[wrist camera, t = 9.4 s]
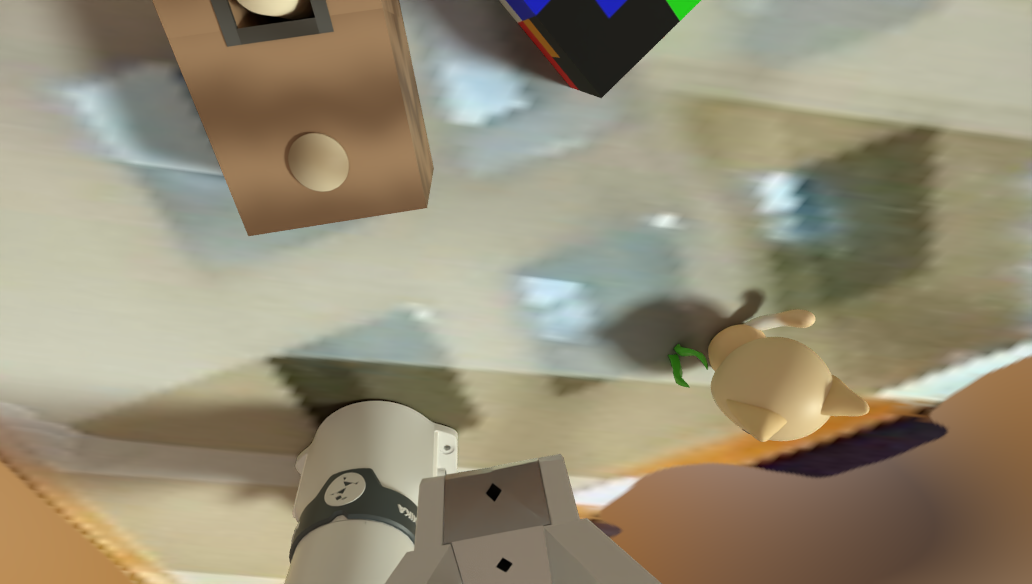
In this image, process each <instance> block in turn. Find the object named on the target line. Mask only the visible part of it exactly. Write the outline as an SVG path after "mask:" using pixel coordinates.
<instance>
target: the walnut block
mask: <svg viewBox="0 0 1032 584" xmlns="http://www.w3.org/2000/svg"><path fill="white" fill-rule="evenodd" d="M152 1H153V4H154V6H155V8H156V11H157V13H158V16H159V18H160V21H161V23H162V26H163V28H164V30H165V33H166V35H167V38H168V40H169V43H170V45H171V48H172V50H173V53H174V55H175V57H176V60H177V62H178V65H179V67H180V70H181V72H182V75H183V77H184V79H185V82H186V84H187V87H188V89H189V92H190V94H191V97H192V99H193V101H194V104H195V106H196V109H197V111H198V114H199V116H200V119H201V121H202V124H203V126H204V128H205V131H206V133H207V136H208V138H209V141H210V143H211V146H212V148H213V150H214V153H215V155H216V158H217V160H218V163H219V165H220V168H221V170H222V173H223V175H224V177H225V180H226V182H227V185H228V187H229V190H230V192H231V195H232V197H233V199H234V202H235V204H236V207H237V209H238V212H239V214H240V217H241V219H242V221H243V224H244V226H245V229H246V231H247V234H248V236H253V235H259V234H265V233H271V232H278V231H284V230H290V229H297V228H303V227H309V226H316V225H322V224H328V223H334V222H341V221H347V220H353V219H360V218H366V217H372V216H379V215H385V214H391V213H397V212H404V211H410V210H416V209H423V208H427V204H428V199H429V193H430V187H431V181H432V175H433V169H434V168H433V163H432V158H431V153H430V148H429V144H428V139H427V134H426V129H425V124H424V119H423V114H422V110H421V105H420V100H419V95H418V90H417V85H416V81H415V76H414V71H413V66H412V61H411V56H410V51H409V47H408V42H407V37H406V32H405V27H404V22H403V18H402V13H401V8H400V3H399V0H310V1H311V5H312V8H313V12H314V15H315V18H309V19H302V20H292V19H286V18H280V17H274V16H268V15H262V14H257V13H255V12H252V11H250V10H248V9H247V8H245V7H244V6H242V5H241V4H240V3H239V2H238V1H237V0H152Z"/></svg>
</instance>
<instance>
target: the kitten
mask: <svg viewBox="0 0 1032 584" xmlns="http://www.w3.org/2000/svg"><path fill="white" fill-rule="evenodd" d="M814 322H815V316H814V315H813V314H812V313H811V312H809V311H806V310H801V309H793V310H788V311H785V312H781V313H776V314H769V315H764V316H760V317H757V318H754V319H752V320H750V321H748V322H746V323H745V324H740V325H734V326H730V327H728V328H726V329H724V330H722V331H721V332H719V333H718V334H717V335H716V336H715V337H714V338H713V339H712V341H711V342H710V344H709V348H708V355H709V361H710V365H711V367H712V368H713V370H714V371H715V373H714V375H713V378H712V381H711V393H712V396H713V399H714V401H715V403H716V404H717V406H718V407H719V408H720V410H721V411H722V412H723V413H724V414H725V415H726V416H727V417H728V418H729V419H730V420H731V421H732V422H734V423H735V424H736V425H737V426H739V427H740V428H742V430H744V431H745V432H747V433H749V434H751V435H752V436H753V437H754V438H756V439H757V440H759V441H762V442H764V441H767V440H774V441H790V440H795V439H799V438H803V437H805V436H808V435H810V434H812V433H813V432H815V431H816V430H818V429H819V428H820V427H821V426H822V425H824V423H825V422H826V421H827V420H828V419H829V417H830V416H861V415H865V414H867V413H868V412H869V405H868V404H867V403H866V401H865V400H864V399H862V398H861V397H860V396H858V395H857V394H855V393H854V392H853V391H852V390H850V389H849V388H848V387H847V386H846V385H845V384H844V383H843V382H842V381H841V380H840V379H838V378H837V377H836V376H834V375H831V373H830V371H829V369H828V367H827V366H826V364H825V363H824V362H823V360H822V359H821V358H820V357H819V356H818V355H817V354H816V353H815V352H814V351H813V350H812V349H810V348H809V347H807V346H806V345H804V344H802V343H800V342H798V341H795V340H792V339H788V338H783V337H766V336H765V335H764V333H763V332H762V331H761V330H767V329H771V328H775V327H779V326H792V327H798V328H806V327H809V326H811V325H812V324H814ZM674 350H675V351H676V352H677V353H678V354H679V355H680V356H697V357H698V358H699V359H700V360H701V362H702V363H703V364H704V366H705V367H706V369H707V370H708V364H707V360H706V358H705V356H704V355H703V354H702V353H701V352H698V351H696V350H693V349H689V348H683V347H681V346H680V345H679V344H677V345H676V346H675V347H674ZM668 357H669V359H670V362H671V366H672V367H673V374H674V378H675V381H676V383H677V384H679V385H681V386H684V387H689V385H688V384H687V383H686V382H685V381H684V380H683V379H682V368H681V364H680V360H679V357H678V355H677V354H674V355H668Z"/></svg>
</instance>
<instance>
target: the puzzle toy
mask: <svg viewBox="0 0 1032 584" xmlns="http://www.w3.org/2000/svg"><path fill="white" fill-rule="evenodd" d="M499 1H500V2H501V3H502V5H503V6H504V7H505V8H506V10H507V11H508V12H509V13H510V14H511V16H512V17H513V18H514V19H515V20H516V22H517V23H518V24H519V25H520V27H521V28H522V29H523V30H524V31H525V33H526V34H527V35H528V36H529V37H530V39H531V40H532V41H533V42H534V44H535V45H536V46H537V47H538V48H539V50H540V51H541V52H542V53H543V54H544V56H545V57H546V58H547V59H548V61H549V62H550V63H551V64H552V65H553V67H554V68H555V69H556V70H557V72H558V73H559V74H560V75H561V76H562V78H563V79H564V80H565V81H566V82H567V84H568V85H569V86H570V87H571V88H574V89H577V90H580V91H582V92H585V93H588V94H591V95H594V96H597V97H600V98H602V97H603V96H604V95H605V94H606V93H607V92H608V91H609V90H610V89H611V88H612V87H613V86H614V85H615V84H616V83H617V82H618V81H619V80H620V79H621V78H622V77H623V76H624V75H625V74H626V73H627V72H629V71H630V70H631V69H632V68H633V67H634V66H635V65H636V64H637V63H638V62H639V61H640V60H641V59H642V58H643V57H644V56H645V55H646V54H647V53H648V52H649V51H650V50H651V49H652V48H653V47H654V46H655V45H656V44H657V43H658V42H659V41H660V40H661V39H662V38H663V37H664V36H665V35H666V34H667V33H668V32H669V31H670V30H671V29H672V28H673V27H674V26H675V25H676V24H677V23H678V22H680V21H681V20H682V19H683V18H684V17H685V16H686V15H687V14H688V13H689V12H690V11H691V10H692V9H693V8H694V7H695V6H696V5H697V4H698V3H699V2H700V1H701V0H499Z"/></svg>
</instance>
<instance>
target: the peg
mask: <svg viewBox="0 0 1032 584" xmlns="http://www.w3.org/2000/svg"><path fill="white" fill-rule="evenodd" d="M237 1H238V2H239V3H240V4H241V5H242V6H244V7H245V8H247V9H248V10H250V11H252V12H255V13H257V14H262V15H268V16H274V17H280V18H286V19H292V20H302V19H309V18H315V15H314V12H313V8H312V5H311V1H310V0H237Z"/></svg>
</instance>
